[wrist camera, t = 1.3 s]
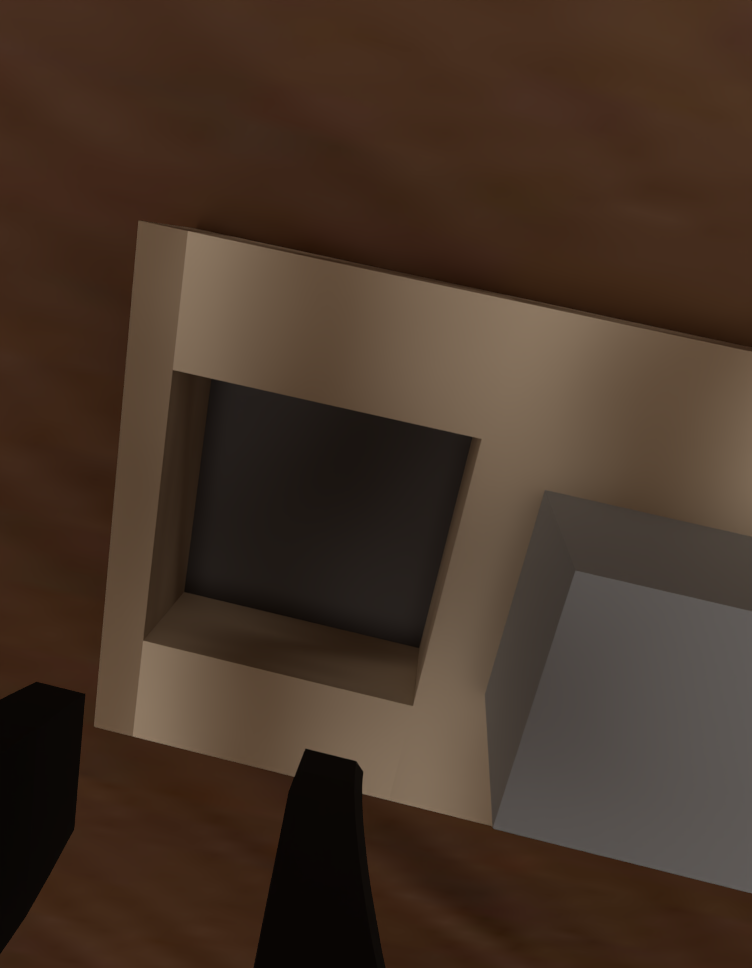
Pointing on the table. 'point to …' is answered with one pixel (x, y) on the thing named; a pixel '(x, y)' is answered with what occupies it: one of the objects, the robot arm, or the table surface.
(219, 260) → the trap deck
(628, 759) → the block
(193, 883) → the table surface
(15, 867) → the robot arm
